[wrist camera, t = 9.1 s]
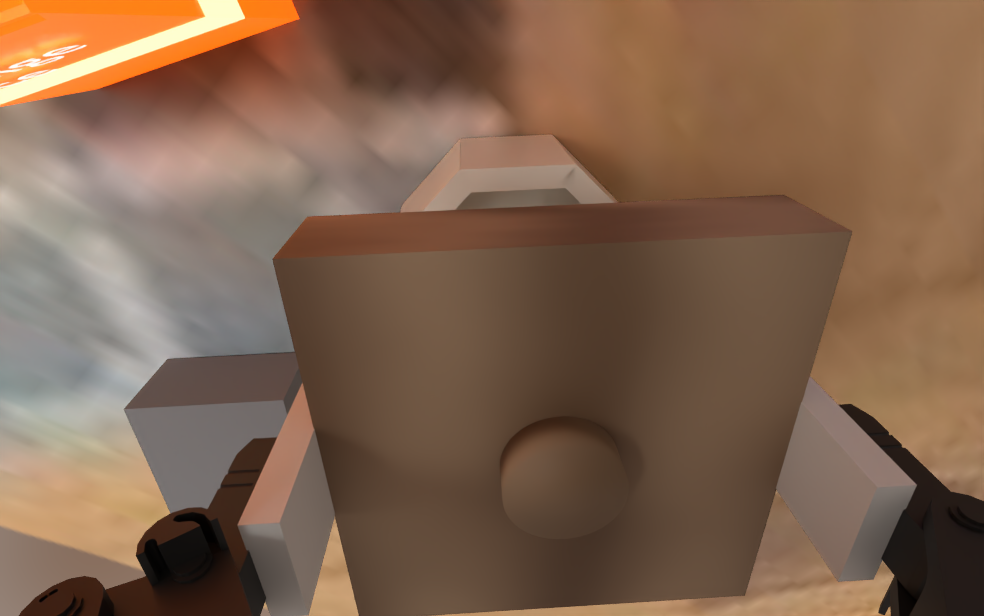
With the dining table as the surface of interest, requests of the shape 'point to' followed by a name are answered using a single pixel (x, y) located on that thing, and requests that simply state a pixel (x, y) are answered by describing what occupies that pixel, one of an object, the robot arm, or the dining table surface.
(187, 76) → the dining table surface
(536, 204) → the bowl
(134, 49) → the orange juice
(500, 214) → the lid
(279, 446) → the robot arm
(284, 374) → the grey rectangular block
